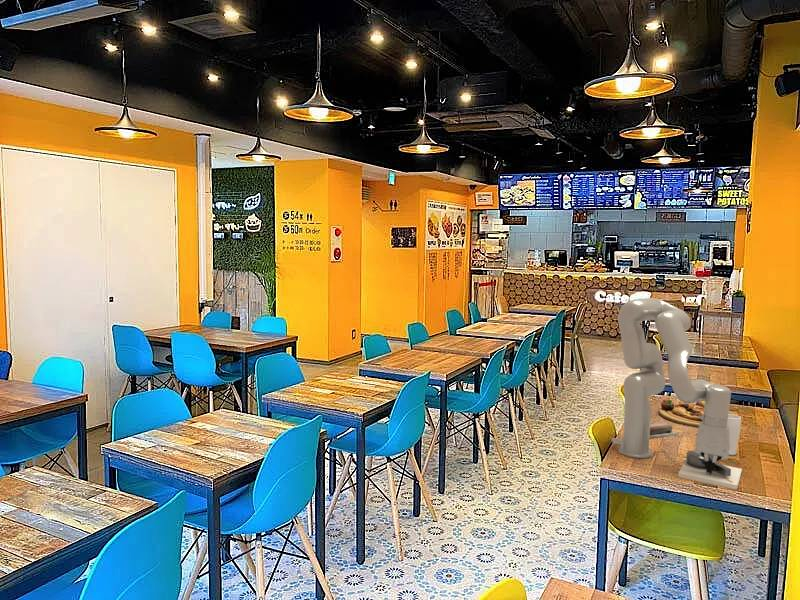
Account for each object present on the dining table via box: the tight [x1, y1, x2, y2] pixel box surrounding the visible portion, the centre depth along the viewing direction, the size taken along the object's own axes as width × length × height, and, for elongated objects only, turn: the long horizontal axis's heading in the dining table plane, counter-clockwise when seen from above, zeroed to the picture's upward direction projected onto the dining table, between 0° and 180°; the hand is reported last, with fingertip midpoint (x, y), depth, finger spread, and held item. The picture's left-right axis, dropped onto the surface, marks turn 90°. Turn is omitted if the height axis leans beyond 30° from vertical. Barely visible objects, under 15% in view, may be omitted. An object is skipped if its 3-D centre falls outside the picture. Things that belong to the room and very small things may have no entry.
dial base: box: [677, 459, 743, 490], centre depth 213 cm, size 18×18×2 cm
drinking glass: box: [727, 413, 742, 456], centre depth 235 cm, size 7×7×15 cm
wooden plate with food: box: [658, 398, 705, 429], centre depth 282 cm, size 32×32×8 cm
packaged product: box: [649, 422, 679, 440], centre depth 257 cm, size 18×5×10 cm
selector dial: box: [685, 450, 731, 477], centre depth 214 cm, size 18×9×3 cm, turn 15°
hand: (709, 471), depth 210 cm, fingers closed
